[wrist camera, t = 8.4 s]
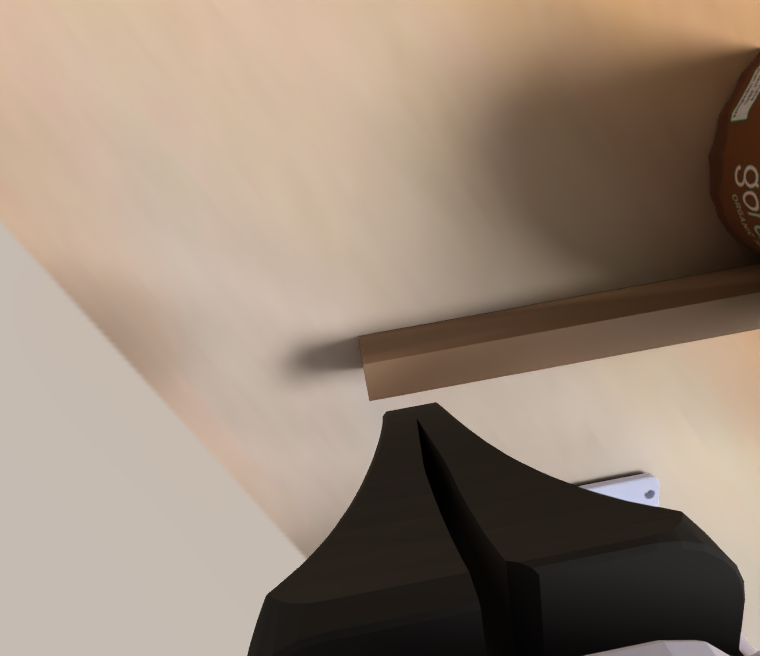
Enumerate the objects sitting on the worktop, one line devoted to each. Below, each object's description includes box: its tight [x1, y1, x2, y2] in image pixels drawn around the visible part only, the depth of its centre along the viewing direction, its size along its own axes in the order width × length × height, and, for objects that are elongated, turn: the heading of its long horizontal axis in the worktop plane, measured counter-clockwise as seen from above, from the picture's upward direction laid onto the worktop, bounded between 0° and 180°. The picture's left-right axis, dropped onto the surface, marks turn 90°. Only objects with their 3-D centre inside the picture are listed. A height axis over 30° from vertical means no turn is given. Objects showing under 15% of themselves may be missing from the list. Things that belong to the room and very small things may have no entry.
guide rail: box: [358, 264, 760, 401], centre depth 19 cm, size 10×26×3 cm, turn 99°
